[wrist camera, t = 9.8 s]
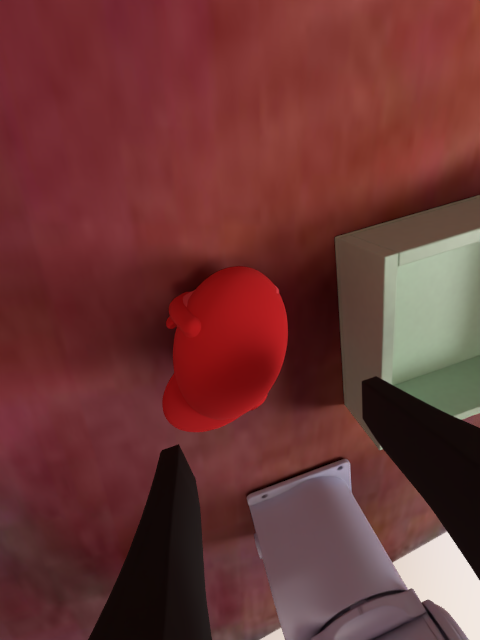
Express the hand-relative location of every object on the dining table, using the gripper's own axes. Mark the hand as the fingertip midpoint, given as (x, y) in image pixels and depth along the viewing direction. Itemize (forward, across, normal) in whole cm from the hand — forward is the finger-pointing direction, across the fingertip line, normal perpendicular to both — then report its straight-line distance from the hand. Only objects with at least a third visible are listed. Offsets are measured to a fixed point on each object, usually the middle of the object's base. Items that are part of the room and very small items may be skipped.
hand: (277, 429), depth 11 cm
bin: (+8, -14, +3) cm, 16 cm away
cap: (+8, +1, -1) cm, 8 cm away
